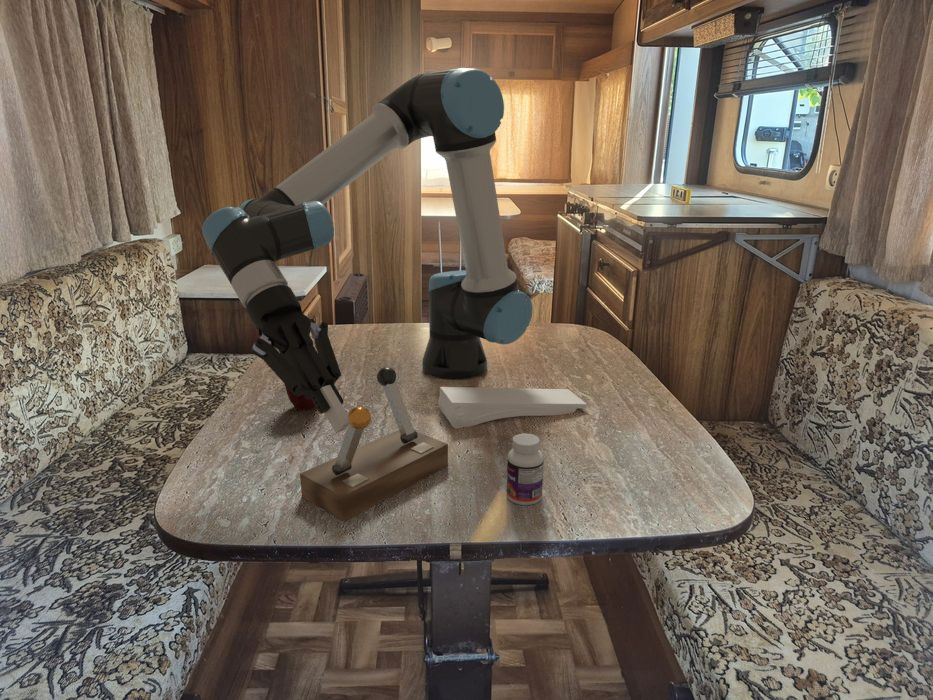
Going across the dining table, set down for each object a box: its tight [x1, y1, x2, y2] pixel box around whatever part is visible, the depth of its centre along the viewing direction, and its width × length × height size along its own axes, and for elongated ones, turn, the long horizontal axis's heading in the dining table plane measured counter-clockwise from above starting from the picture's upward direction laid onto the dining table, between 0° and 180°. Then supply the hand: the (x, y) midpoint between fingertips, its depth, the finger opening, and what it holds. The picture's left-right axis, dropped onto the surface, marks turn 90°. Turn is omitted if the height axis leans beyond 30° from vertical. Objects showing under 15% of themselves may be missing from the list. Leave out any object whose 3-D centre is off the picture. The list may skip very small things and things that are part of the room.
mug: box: [284, 384, 316, 411], centre depth 131 cm, size 10×8×10 cm
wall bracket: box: [437, 386, 588, 429], centre depth 131 cm, size 10×7×28 cm
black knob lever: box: [376, 366, 418, 444], centre depth 109 cm, size 3×3×13 cm
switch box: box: [299, 429, 449, 522], centre depth 105 cm, size 10×22×4 cm, turn 139°
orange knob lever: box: [332, 406, 372, 475], centre depth 96 cm, size 3×3×13 cm
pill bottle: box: [506, 432, 545, 506], centre depth 99 cm, size 5×5×10 cm
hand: (343, 427), depth 96 cm, fingers closed
